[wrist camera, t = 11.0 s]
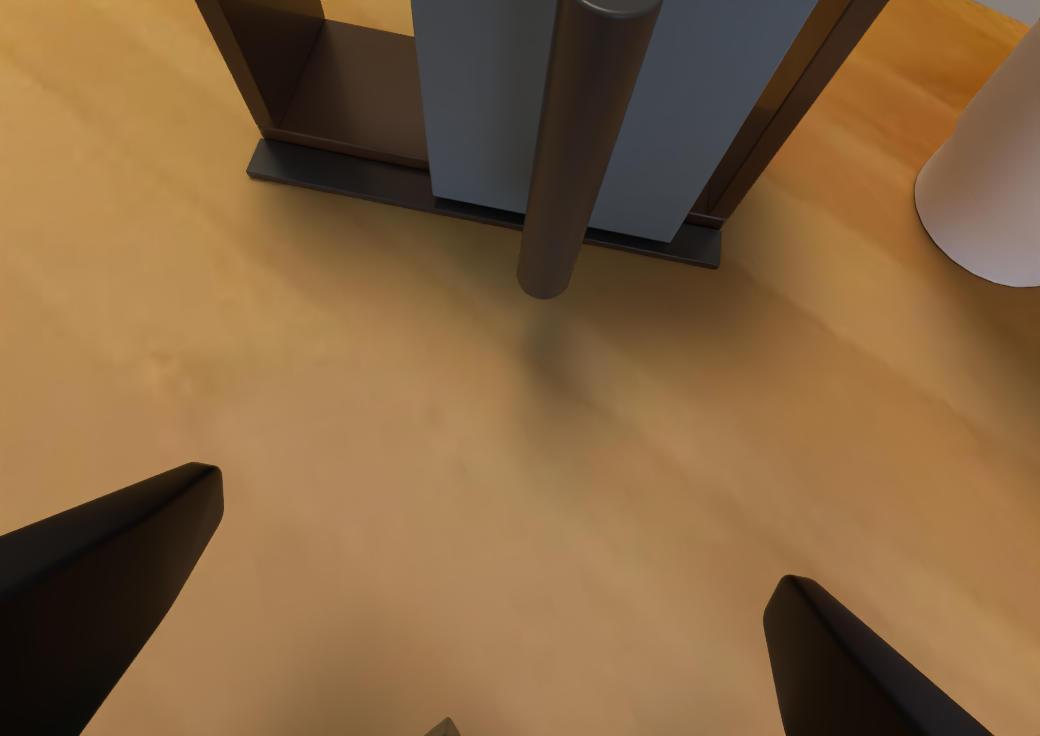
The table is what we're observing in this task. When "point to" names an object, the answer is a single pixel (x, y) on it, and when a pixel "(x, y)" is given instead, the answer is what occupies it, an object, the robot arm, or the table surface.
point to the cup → (991, 176)
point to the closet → (400, 120)
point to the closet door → (590, 110)
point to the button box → (444, 729)
